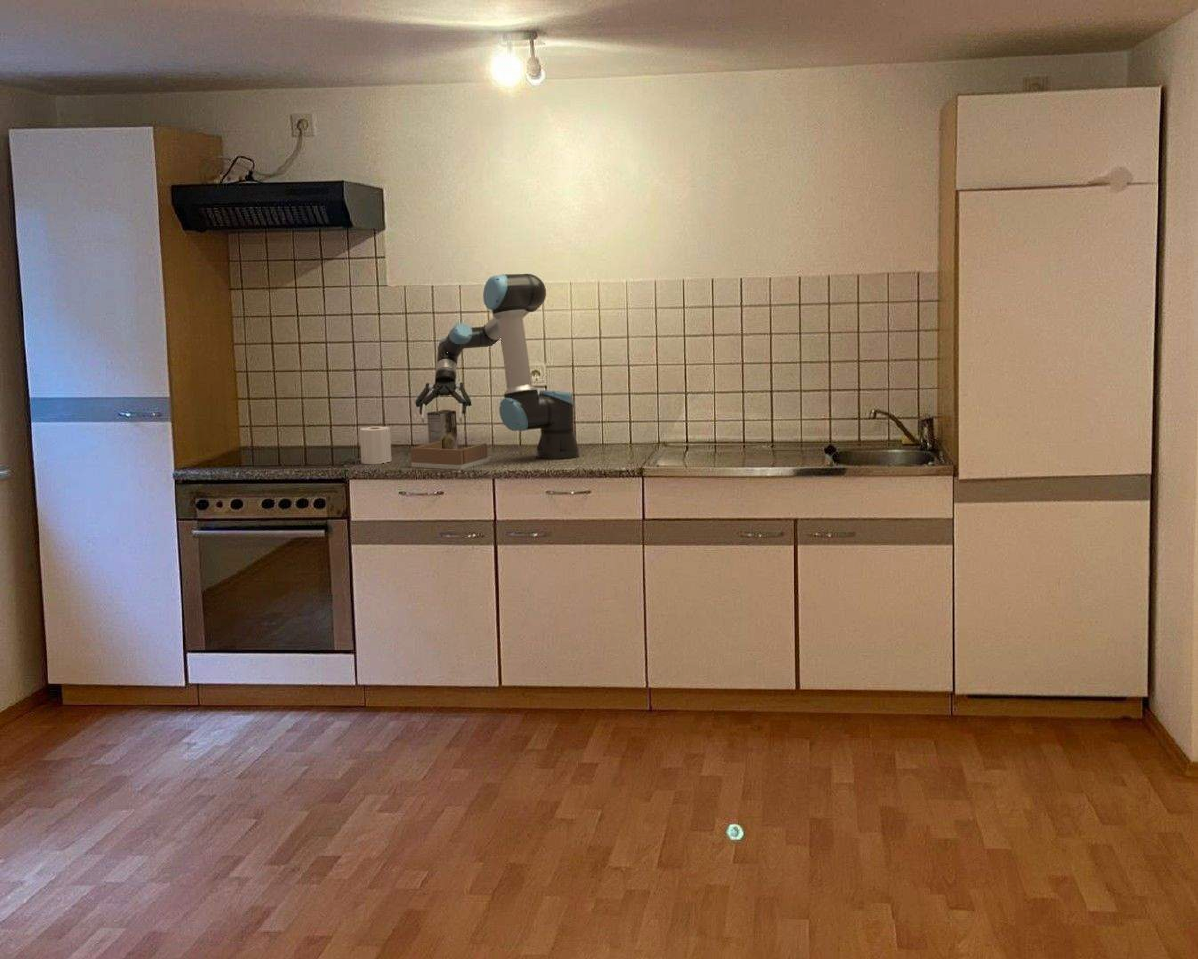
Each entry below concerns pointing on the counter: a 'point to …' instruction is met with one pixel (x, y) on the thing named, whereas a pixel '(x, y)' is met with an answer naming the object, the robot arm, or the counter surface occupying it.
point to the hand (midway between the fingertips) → (441, 420)
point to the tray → (448, 456)
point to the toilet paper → (375, 445)
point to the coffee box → (443, 428)
